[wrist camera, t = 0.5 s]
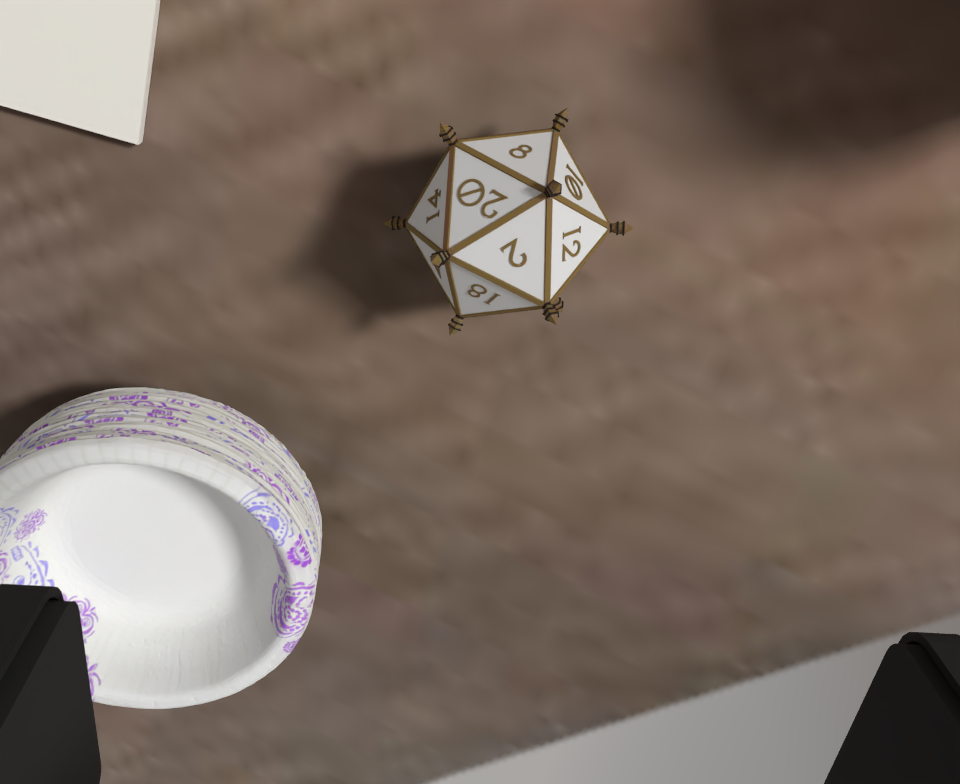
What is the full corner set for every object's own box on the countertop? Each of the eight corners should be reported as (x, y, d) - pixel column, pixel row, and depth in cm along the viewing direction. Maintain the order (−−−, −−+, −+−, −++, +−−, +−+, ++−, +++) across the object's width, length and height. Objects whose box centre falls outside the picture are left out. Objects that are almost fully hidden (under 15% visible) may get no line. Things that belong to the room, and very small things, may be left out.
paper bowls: (385, 531, 45) (377, 639, 38) (154, 637, 48) (107, 756, 41) (216, 300, 39) (169, 380, 32) (-42, 439, 41) (-138, 541, 34)
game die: (455, 195, 41) (308, 255, 33) (547, 46, 35) (393, 80, 28) (585, 327, 39) (461, 418, 32) (703, 195, 34) (585, 272, 26)
